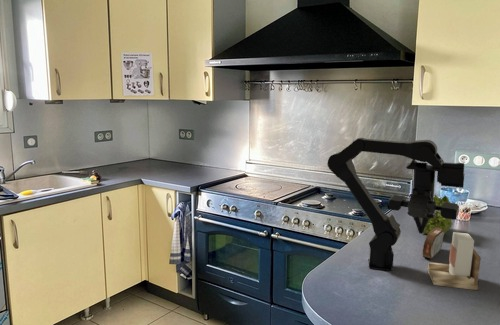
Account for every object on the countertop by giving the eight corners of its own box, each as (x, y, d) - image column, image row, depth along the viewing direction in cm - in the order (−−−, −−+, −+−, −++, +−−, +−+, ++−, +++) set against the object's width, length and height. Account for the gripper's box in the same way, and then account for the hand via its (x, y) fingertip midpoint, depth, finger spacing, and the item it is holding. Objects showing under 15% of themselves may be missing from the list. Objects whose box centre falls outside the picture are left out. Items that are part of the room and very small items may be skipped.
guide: (433, 284, 116) (437, 254, 114) (427, 270, 126) (430, 241, 124) (477, 290, 113) (481, 259, 112) (467, 274, 123) (471, 246, 122)
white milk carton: (452, 279, 117) (456, 238, 115) (447, 270, 122) (451, 232, 120) (469, 281, 116) (474, 240, 114) (463, 272, 121) (468, 233, 119)
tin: (434, 247, 145) (436, 224, 143) (443, 249, 143) (446, 226, 141) (420, 260, 133) (423, 235, 132) (430, 262, 131) (433, 237, 130)
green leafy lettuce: (471, 230, 149) (443, 203, 145) (434, 252, 156) (406, 227, 152) (456, 202, 165) (431, 177, 161) (423, 223, 172) (398, 199, 168)
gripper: (382, 188, 118) (381, 238, 122) (455, 198, 107) (450, 252, 112) (393, 176, 126) (392, 223, 131) (461, 184, 116) (457, 235, 121)
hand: (421, 233), depth 123 cm, fingers closed
